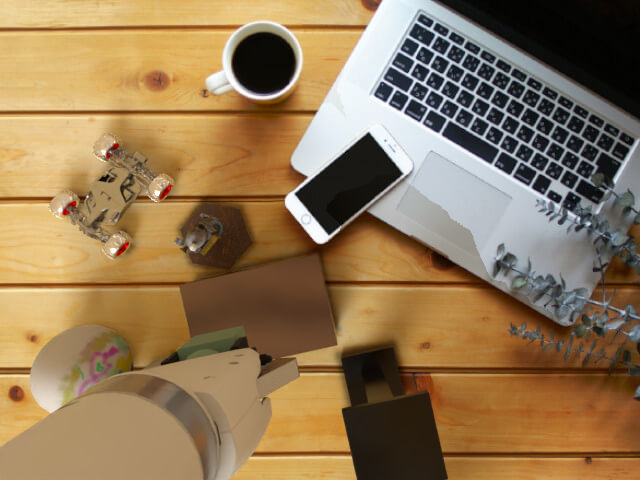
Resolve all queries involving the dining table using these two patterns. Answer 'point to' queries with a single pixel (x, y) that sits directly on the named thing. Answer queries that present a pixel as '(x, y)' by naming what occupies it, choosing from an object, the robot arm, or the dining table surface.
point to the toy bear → (210, 343)
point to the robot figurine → (215, 236)
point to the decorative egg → (77, 364)
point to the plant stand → (389, 422)
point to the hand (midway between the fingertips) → (215, 363)
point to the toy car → (112, 195)
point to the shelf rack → (266, 306)
